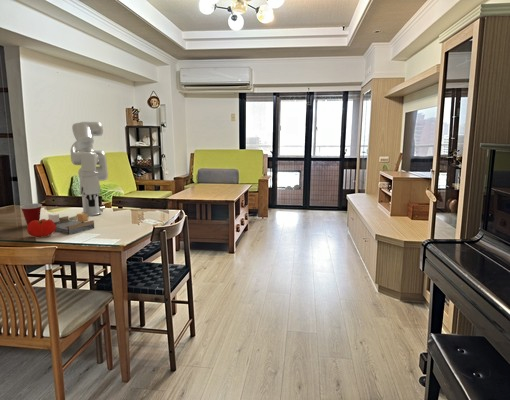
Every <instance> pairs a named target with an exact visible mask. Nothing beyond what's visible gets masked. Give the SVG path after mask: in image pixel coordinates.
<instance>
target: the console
mask: <svg viewBox="0 0 510 400" xmlns="http://www.w3.org/2000/svg"><path fill="white" fill-rule="evenodd" d="M59 220H60V221H59V222H56V224H55V225H56V230H55V231H54V233H55V232H56V233H60V234H64V235H65V234H66V235H72V234H73V235H74V234H77V233H81V232H84V231H88V230H92V229H95V220H88V221H85V222H83V223H81V222H80V221H77V220H73V219H69V216H67V215H66V216H62V217H59Z"/></svg>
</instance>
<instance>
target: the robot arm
mask: <svg viewBox="0 0 510 400" xmlns="http://www.w3.org/2000/svg"><path fill="white" fill-rule="evenodd" d="M71 129H72V133H73V137H74V138H75V141H74V143H73V144H72V145H71V147H70V160H71V161H70V162H71V163H72V164H73V165H74V166H80V168H79V169H78V178H79V179H78V180H79V194H80V195H81V199H82V200H81V201H82V210H83V211H82V212H81V213H85V214H87V215H88V217H93V216H99V215H102V213H103V212H102V210H103V211H104V210H105V209H106V207H105V206H99V196H100V195H101V185H100V181H101V182H102V181H107V180H108V179H109V172H108V163H107V156H106V155H107V154H106V153H105V151H103V150H100V149H99V150H98V149H97V150H94V147H93V146H94V141H95V140H94V137H100V136H103V134H104V127H103V125H102V123H101V122H100V121H99V122H98V121H80V122H76V123H73V124H72V126H71Z"/></svg>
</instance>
